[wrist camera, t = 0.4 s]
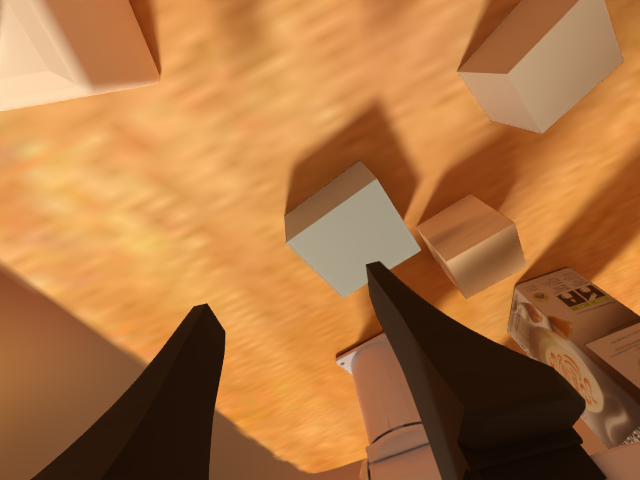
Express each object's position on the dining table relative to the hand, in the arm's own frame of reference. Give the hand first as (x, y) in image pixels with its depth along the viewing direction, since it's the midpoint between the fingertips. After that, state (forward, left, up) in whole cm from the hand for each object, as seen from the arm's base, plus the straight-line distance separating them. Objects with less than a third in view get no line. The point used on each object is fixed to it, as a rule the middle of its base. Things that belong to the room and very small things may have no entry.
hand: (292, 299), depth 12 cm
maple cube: (-11, -10, -10) cm, 18 cm away
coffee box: (-28, -15, -10) cm, 33 cm away
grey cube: (-1, -17, -10) cm, 20 cm away
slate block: (-4, -3, -10) cm, 11 cm away
